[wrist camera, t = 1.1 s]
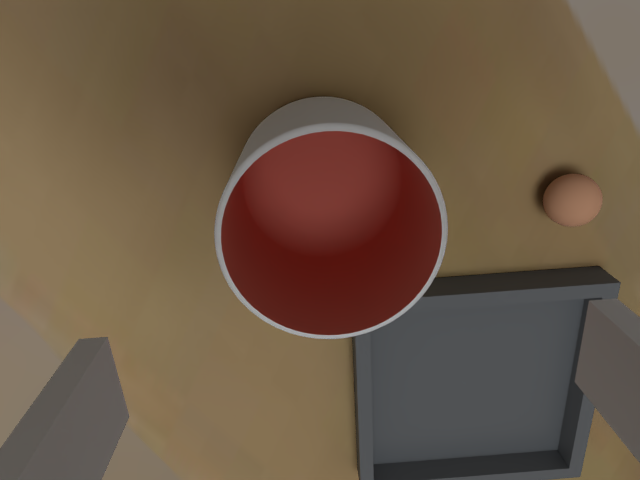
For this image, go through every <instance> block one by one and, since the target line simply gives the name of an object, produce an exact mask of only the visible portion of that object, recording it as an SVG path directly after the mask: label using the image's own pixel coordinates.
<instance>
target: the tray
mask: <svg viewBox="0 0 640 480" xmlns="http://www.w3.org/2000/svg"><path fill="white" fill-rule="evenodd" d="M619 288H620V282H619V281H618V280H617V279H615V278H614V277H613V276H611V275H610V274H609V273H607V272H606V271H605V270H604V269H602V268H601V267H600V266H592V267H579V268H565V269H551V270H538V271H524V272H510V273H496V274H483V275H469V276H455V277H442V278H434V280H433V282H432V283H431V285H430V287H429V288H428V289H427V290H426V292H425V293H424V294H423V296H422V297H421V298H420V299H419V300H418V301H417V302H416V303H415V304H414V305H413V306H412V307H411V308H410V309H409V310H408V311H406V312H405V313H404V314H402V315H401V316H400V317H398V318H397V319H395V320H394V321H392V322H390V323H388V324H387V325H385V326H382V327H380V328H378V329H375V330H373V331H371V332H368V333H365V334H361V335H357V336H353V337H352V342H353V367H354V392H355V417H356V443H357V468H358V476H359V480H548V479H560V478H573V477H580V475H581V471H582V466H583V461H584V456H585V451H586V447H587V442H588V437H589V432H590V427H591V423H592V418H593V413H594V408H595V407H594V405H593V404H592V403H591V402H590V400H589V399H588V398H587V397H586V395H585V394H584V393H583V392H582V390H581V389H580V388H579V387H578V385H577V384H576V383H575V376H576V371H577V365H578V360H579V354H580V348H581V343H582V337H583V331H584V326H585V320H586V314H587V309H588V303H589V301H590V300H603V299H616V298H618V293H619Z"/></svg>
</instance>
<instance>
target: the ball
mask: <svg viewBox="0 0 640 480" xmlns="http://www.w3.org/2000/svg"><path fill="white" fill-rule="evenodd" d="M602 201H603V197H602V192H601V190H600V188H599V186H598V185H597V183H596V182H595V181H594V180H592V179H591V178H589V177H587V176H585V175H582V174H566V175H563V176H560V177H558V178H556V179H555V180H554V181H552V182H551V183H550V184H549V186H548V187H547V188H546V190H545V193H544V196H543V206H544V209H545V212H546V213H547V215H548V216H549V218H551V219H552V220H553V221H554V222H556V223H558V224H560V225H563V226H569V227H575V226H580V225H583V224H586V223H588V222H589V221H591V220H592V219H593V218H595V217H596V215H597V214H598V213H599V211H600V209H601V206H602Z"/></svg>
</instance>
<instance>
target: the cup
mask: <svg viewBox="0 0 640 480" xmlns="http://www.w3.org/2000/svg"><path fill="white" fill-rule="evenodd" d="M447 234H448V221H447V212H446V207H445V202H444V199H443V196H442V193H441V190H440V188H439V186H438V184H437V181H436V180H435V178H434V176H433V175H432V173H431V171H430V170H429V169H428V167H427V166H426V165H425V163H424V162H423V161H422V160H421V159H420V158H419V157H418V156H417V155H416V154H415V153H414V152H413V151H412V150H411V149H410V148H409V147H408V145H407V144H406V143H405V142H404V141H403V140H402V139H401V138H400V137H399V136H398V135H397V134H396V133H395V132H394V131H393V130H392V129H391V128H390V127H389V126H388V125H387V124H386V123H385V122H384V121H383V120H382V119H381V118H380V117H378V116H377V115H376V114H375V113H373V112H372V111H370V110H369V109H367V108H365V107H364V106H362V105H359V104H357V103H355V102H352V101H349V100H346V99H342V98H336V97H310V98H305V99H301V100H297V101H294V102H292V103H289V104H287V105H285V106H283V107H281V108H279V109H278V110H276V111H275V112H273V113H272V114H270V115H269V116H268V117H267V118H265V119H264V120H263V121H262V122H261V123H260V124H259V125H258V126H257V127H256V129H255V130H254V131H253V133H252V134H251V136H250V137H249V139H248V140H247V142H246V144H245V146H244V148H243V151H242V153H241V155H240V157H239V159H238V161H237V163H236V165H235V168H234V170H233V172H232V174H231V176H230V178H229V180H228V183H227V185H226V187H225V189H224V191H223V193H222V196H221V199H220V202H219V205H218V209H217V213H216V219H215V228H214V237H215V248H216V254H217V258H218V261H219V265H220V268H221V270H222V273H223V275H224V277H225V279H226V281H227V283H228V285H229V286H230V288H231V289H232V291H233V292H234V294H235V295H236V296H237V298H238V299H239V300H240V301H241V302H242V303H243V304H244V305H245V306H246V307H247V308H248V309H249V310H250V311H251V312H252V313H254V314H255V315H256V316H258V317H259V318H260V319H262V320H263V321H265V322H267V323H269V324H270V325H272V326H274V327H276V328H278V329H281V330H283V331H286V332H289V333H292V334H295V335H299V336H304V337H309V338H317V339H338V338H347V337H353V336H357V335H361V334H365V333H368V332H371V331H373V330H375V329H378V328H380V327H382V326H385V325H387V324H388V323H390V322H392V321H394V320H395V319H397V318H398V317H400V316H401V315H402V314H404V313H405V312H406V311H408V310H409V309H410V308H411V307H412V306H413V305H414V304H415V303H416V302H417V301H418V300H419V299H420V298H421V297H422V296H423V294H424V293H425V292H426V290H427V289H428V288H429V287H430V285H431V283H432V282H433V280H434V278H435V276H436V275H437V272H438V270H439V268H440V266H441V263H442V260H443V257H444V253H445V249H446V243H447Z"/></svg>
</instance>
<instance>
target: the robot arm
mask: <svg viewBox="0 0 640 480" xmlns="http://www.w3.org/2000/svg"><path fill="white" fill-rule="evenodd" d="M575 383H576V384H577V385H578V387H579V388H580V389H581V390H582V392H583V393H584V394H585V395H586V397H587V398H588V399H589V400H590V402H591V403H592V404H593V405H594V407H595V408H596V409H597V410H598V412H599V413H600V414H601V415H602V417H603V418H604V419H605V420H606V422H607V423H608V424H609V425H610V427H611V428H612V429H613V430H614V431H615V433H616V434H617V435H618V436H619V438H620V439H621V440H622V441H623V443H624V444H625V445H626V446H627V448H628V449H629V450H630V451H631V453H632V454H633V455H634V456H635V458H636V459H637V460H638V461H639V463H640V317H639V316H637V315H636V314H635V313H634V312H632V311H631V310H630V309H629V308H628V307H626V306H625V305H624V304H623V303H622V302H620V301H619V300H618V299H617V298H616V299H603V300H590V301H589V303H588V309H587V314H586V320H585V326H584V331H583V337H582V343H581V348H580V354H579V360H578V365H577V371H576V376H575ZM128 418H129V414H128V410H127V406H126V403H125V399H124V395H123V392H122V388H121V384H120V381H119V377H118V373H117V370H116V366H115V362H114V359H113V355H112V351H111V348H110V344H109V341H108V337H100V338H86V339H79V340H78V341H77V342H76V344H75V345H74V347H73V348H72V349H71V351H70V352H69V354H68V355H67V356H66V358H65V359H64V361H63V362H62V363H61V365H60V366H59V368H58V369H57V370H56V372H55V373H54V374H53V376H52V377H51V379H50V380H49V381H48V383H47V384H46V386H45V387H44V388H43V390H42V391H41V393H40V394H39V395H38V397H37V398H36V400H35V401H34V402H33V404H32V405H31V406H30V408H29V409H28V411H27V412H26V414H25V415H24V416H23V417H22V419H21V420H20V422H19V423H18V425H17V426H16V427H15V429H14V430H13V432H12V433H11V434H10V436H9V437H8V438H7V440H6V441H5V443H4V444H3V445H2V447H1V448H0V480H101V479H102V477H103V475H104V473H105V471H106V468H107V466H108V464H109V461H110V459H111V457H112V455H113V452H114V450H115V448H116V446H117V443H118V440H119V439H120V437H121V434H122V432H123V430H124V427H125V425H126V423H127V421H128Z"/></svg>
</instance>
